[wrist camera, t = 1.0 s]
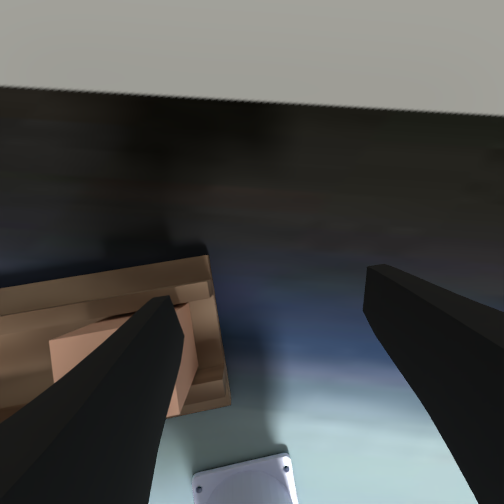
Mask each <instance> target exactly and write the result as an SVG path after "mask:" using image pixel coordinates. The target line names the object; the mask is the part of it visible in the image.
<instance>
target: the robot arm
mask: <svg viewBox="0 0 504 504" xmlns="http://www.w3.org/2000/svg"><path fill="white" fill-rule="evenodd" d="M363 312H364V314H365V316H366V318H367V320H368V322H369V324H370V326H371V328H372V330H373V332H374V334H375V335H376V337H377V338H378V340H379V341H380V343H381V344H382V346H383V347H384V349H385V350H386V352H387V353H388V355H389V356H390V358H391V359H392V361H393V362H394V363H395V365H396V366H397V368H398V369H399V371H400V372H401V374H402V375H403V376H404V378H405V379H406V381H407V382H408V384H409V385H410V387H411V388H412V389H413V391H414V392H415V394H416V395H417V397H418V398H419V400H420V401H421V403H422V404H423V406H424V407H425V409H426V411H427V412H428V414H429V415H430V417H431V419H432V421H433V422H434V424H435V426H436V428H437V429H438V431H439V433H440V434H441V436H442V438H443V440H444V441H445V443H446V445H447V447H448V448H449V450H450V452H451V454H452V456H453V457H454V459H455V461H456V463H457V465H458V467H459V468H460V470H461V472H462V474H463V476H464V478H465V479H466V481H467V483H468V485H469V487H470V489H471V490H472V492H473V494H474V496H475V498H476V500H477V502H478V504H504V312H502V311H499V310H496V309H494V308H491V307H489V306H486V305H483V304H481V303H478V302H475V301H473V300H471V299H468V298H466V297H463V296H461V295H458V294H456V293H453V292H451V291H449V290H446V289H444V288H441V287H439V286H437V285H434V284H432V283H430V282H427V281H425V280H423V279H421V278H418V277H416V276H414V275H411V274H409V273H407V272H404V271H402V270H399V269H397V268H394V267H392V266H389V265H386V264H381V265H374V266H367V274H366V284H365V294H364V303H363ZM184 337H185V335H184V333H183V330H182V327H181V325H180V322H179V319H178V317H177V314H176V311H175V309H174V306H173V303H172V301H171V298H170V295H166V296H160V297H153V298H152V299H150V300H149V301H148V302H147V303H146V304H144V305H143V306H142V307H141V308H140V309H139V310H138V311H137V312H136V313H135V314H133V315H132V316H131V317H130V318H129V319H128V320H127V321H126V322H125V323H124V324H123V325H121V326H120V327H119V328H118V329H117V330H116V331H115V332H114V333H113V334H112V335H111V336H109V337H108V338H107V339H106V340H105V341H104V342H103V343H102V344H100V345H99V346H98V347H97V348H96V349H95V350H93V351H92V352H91V353H90V354H89V355H88V356H86V357H85V358H84V359H83V360H82V361H81V362H79V363H78V364H77V365H76V366H75V367H74V368H72V369H71V370H70V371H69V372H68V373H66V374H65V375H64V376H63V377H62V378H60V379H59V380H58V381H57V382H55V383H54V384H53V385H51V386H50V387H49V388H48V389H46V390H45V391H44V392H42V393H41V394H40V395H38V396H37V397H36V398H34V399H33V400H32V401H30V402H29V403H28V404H27V405H25V406H24V407H23V408H21V409H20V410H18V411H17V412H16V413H14V414H13V415H12V416H10V417H9V418H7V419H6V420H4V421H3V422H2V423H0V504H148V502H149V496H150V490H151V485H152V479H153V474H154V468H155V463H156V458H157V452H158V448H159V443H160V439H161V435H162V431H163V427H164V424H165V420H166V416H167V413H168V409H169V405H170V402H171V398H172V394H173V391H174V387H175V383H176V380H177V376H178V372H179V368H180V364H181V359H182V352H183V345H184ZM284 466H288V467H287V468H284ZM198 486H201V487H202V488H197V487H198ZM192 489H193V496H194V503H195V504H298V499H297V493H296V487H295V481H294V475H293V469H292V463H291V459H290V456H289V454H287V453H281V454H276V455H272V456H268V457H263V458H259V459H255V460H250V461H246V462H242V463H237V464H233V465H229V466H224V467H220V468H215V469H211V470H207V471H202V472H198V473H196V474H195V475H194V476H193V478H192Z"/></svg>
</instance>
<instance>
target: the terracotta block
mask: <svg viewBox="0 0 504 504" xmlns="http://www.w3.org/2000/svg"><path fill="white" fill-rule="evenodd" d="M173 306H174V309H175V311H176V314H177V317H178V319H179V322H180V325H181V327H182V330H183V333H184V335H185V337H184V345H183V352H182V359H181V364H180V368H179V372H178V376H177V380H176V383H175V387H174V391H173V394H172V398H171V402H170V405H169V409H168V413H167V416H166V417H169V416H174V415H179V414H180V412H181V410H182V407H183V405H184V402H185V399H186V397H187V394H188V392H189V389H190V386H191V384H192V381H193V379H194V376H195V374H196V371H197V368H198V359H197V353H196V346H195V340H194V333H193V327H192V320H191V313H190V307H189V302H188V303H182V304H176V305H173ZM135 313H136V312H131V313H125V314H120V315H114V316H110V317H107V318H105V319H102V320H100V321H97V322H95V323H92V324H90V325H87V326H85V327H82V328H80V329H77V330H74V331H72V332H69V333H67V334H64V335H62V336H59V337H57V338H54V339H52V340H49V346H50V354H51V362H52V371H53V379H54V383H55V382H57V381H58V380H59V379H60V378H62V377H63V376H64V375H65V374H66V373H68V372H69V371H70V370H71V369H72V368H74V367H75V366H76V365H77V364H78V363H79V362H81V361H82V360H83V359H84V358H85V357H86V356H88V355H89V354H90V353H91V352H92V351H93V350H95V349H96V348H97V347H98V346H99V345H100V344H102V343H103V342H104V341H105V340H106V339H107V338H108V337H109V336H111V335H112V334H113V333H114V332H115V331H116V330H117V329H118V328H119V327H120V326H121V325H123V324H124V323H125V322H126V321H127V320H128V319H129V318H130V317H131V316H132V315H133V314H135Z"/></svg>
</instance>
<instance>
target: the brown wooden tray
mask: <svg viewBox="0 0 504 504" xmlns="http://www.w3.org/2000/svg"><path fill="white" fill-rule="evenodd" d="M166 295H170V298H171V301H172V303H173V305H176V304H182V303H188V302H189V307H190V313H191V320H192V327H193V333H194V340H195V346H196V353H197V359H198V368H197V371H196V374H195V376H194V379H193V381H192V384H191V386H190V389H189V392H188V394H187V397H186V399H185V402H184V405H183V407H182V410H181V412H180V414H179V415H174V416H169V417H166V419H168V418H173V417H177V416H182V415H187V414H192V413H196V412H201V411H206V410H210V409H215V408H220V407H225V406H229V405H231V393H230V387H229V381H228V374H227V368H226V362H225V355H224V349H223V343H222V336H221V330H220V324H219V317H218V311H217V305H216V298H215V292H214V286H213V279H212V273H211V267H210V260H209V255H203V256H197V257H191V258H185V259H179V260H173V261H166V262H160V263H154V264H148V265H142V266H136V267H129V268H123V269H117V270H111V271H105V272H99V273H93V274H86V275H80V276H74V277H68V278H62V279H56V280H49V281H43V282H37V283H31V284H25V285H19V286H12V287H6V288H0V423H2V422H3V421H4V420H6V419H7V418H9V417H10V416H12V415H13V414H14V413H16V412H17V411H18V410H20V409H21V408H23V407H24V406H25V405H27V404H28V403H29V402H30V401H32V400H33V399H34V398H36V397H37V396H38V395H40V394H41V393H42V392H44V391H45V390H46V389H48V388H49V387H50V386H51V385H53V384H54V379H53V371H52V362H51V354H50V346H49V340H52V339H54V338H57V337H59V336H62V335H64V334H67V333H69V332H72V331H74V330H77V329H80V328H82V327H85V326H87V325H90V324H92V323H95V322H97V321H100V320H102V319H105V318H107V317H110V316H114V315H120V314H125V313H131V312H137V311H138V310H139V309H140V308H141V307H142V306H143V305H144V304H146V303H147V302H148V301H149V300H150V299H152V298H153V297H160V296H166Z"/></svg>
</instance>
